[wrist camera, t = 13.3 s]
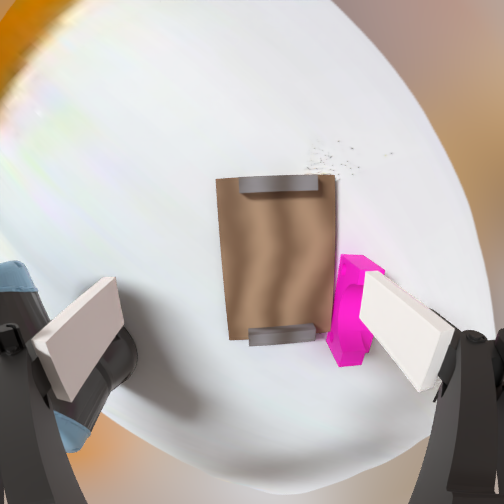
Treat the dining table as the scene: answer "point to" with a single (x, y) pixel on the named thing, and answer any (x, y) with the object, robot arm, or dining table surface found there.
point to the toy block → (350, 312)
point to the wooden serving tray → (277, 256)
